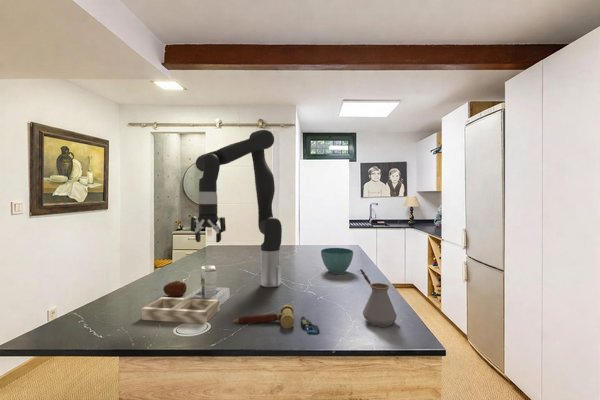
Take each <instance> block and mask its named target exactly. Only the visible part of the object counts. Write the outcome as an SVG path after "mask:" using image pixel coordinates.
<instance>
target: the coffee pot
mask: <svg viewBox="0 0 600 400" xmlns="http://www.w3.org/2000/svg"><path fill="white" fill-rule="evenodd" d="M357 273H358V274H359V275H360V274H361V275H363V278H364V280H365V282H367V284H368V285H369V287H370V288H371V293H370V294H369V298H368V300H367V302H366V303H365V307H364V309H363V310H362V315H363V318H364V319H365V320H366V322H368V323H369V325H372V326H374V327H378V328H386V327H390V326H391V325H392V324H393V323H394V322H395V321H397V320H396V319H397V317H398V316H397V313H396V310H395V308H394V306H393V303H392V301H391V298H390V296H389V293H388V290H389V289H390V285H389V284H386V283H380V282H379V283H378V282H373V283H372V282H371V280H370V279H369V277H368V276H367V274H366V273H365V272H364V270H363V269H361V268H360V269H358V271H357Z"/></svg>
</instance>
